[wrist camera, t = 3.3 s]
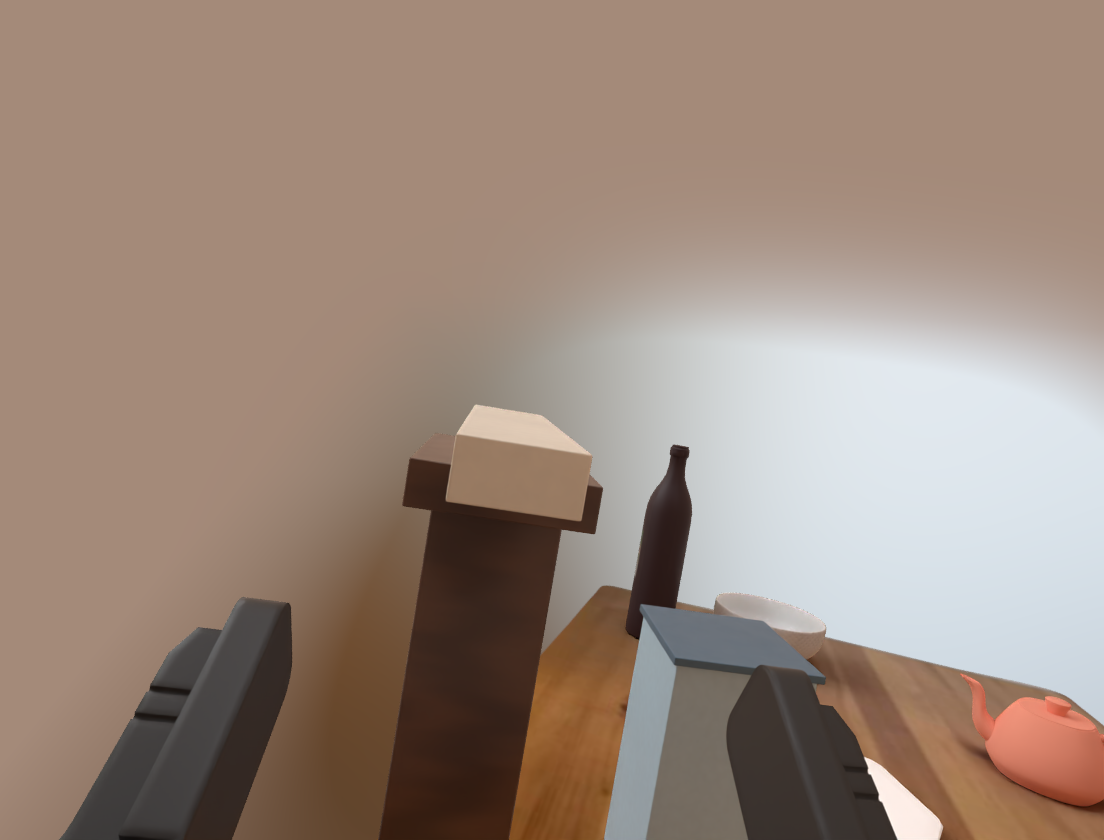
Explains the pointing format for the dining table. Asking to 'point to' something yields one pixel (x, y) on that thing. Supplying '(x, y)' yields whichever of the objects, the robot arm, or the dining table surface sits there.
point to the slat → (518, 465)
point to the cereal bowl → (776, 619)
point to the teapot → (1044, 747)
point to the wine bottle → (662, 543)
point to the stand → (470, 658)
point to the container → (688, 724)
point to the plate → (904, 807)
